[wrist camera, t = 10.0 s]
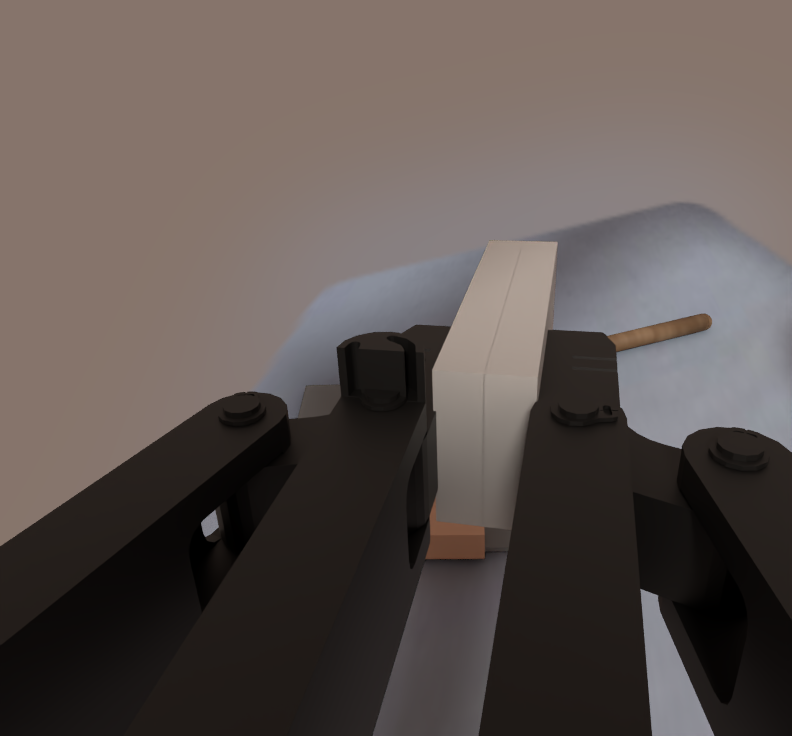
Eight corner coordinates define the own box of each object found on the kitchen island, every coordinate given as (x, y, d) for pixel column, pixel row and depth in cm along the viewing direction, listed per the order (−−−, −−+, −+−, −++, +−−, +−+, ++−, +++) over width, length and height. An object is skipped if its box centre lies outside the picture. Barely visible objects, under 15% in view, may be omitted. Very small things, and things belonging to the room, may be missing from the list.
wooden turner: (686, 311, 61) (688, 297, 60) (732, 345, 56) (736, 329, 55) (486, 358, 57) (485, 344, 57) (516, 399, 52) (517, 383, 52)
